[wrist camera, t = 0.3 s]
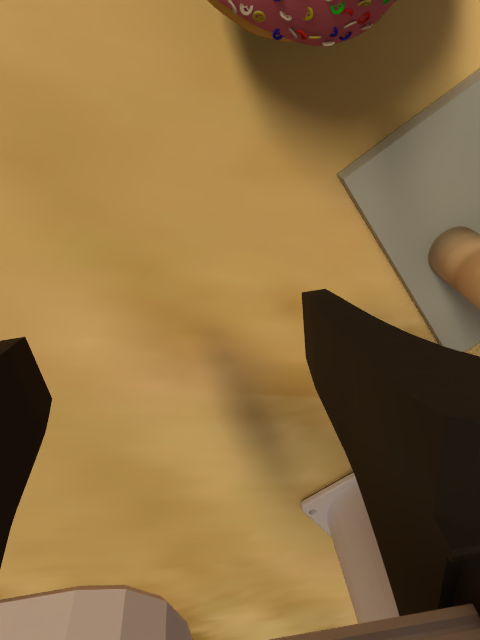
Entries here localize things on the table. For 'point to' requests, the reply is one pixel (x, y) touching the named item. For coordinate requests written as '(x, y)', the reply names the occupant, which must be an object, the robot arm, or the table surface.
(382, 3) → the cupcake
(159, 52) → the table surface
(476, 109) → the lane shelf
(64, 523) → the table surface
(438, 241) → the block
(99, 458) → the table surface
